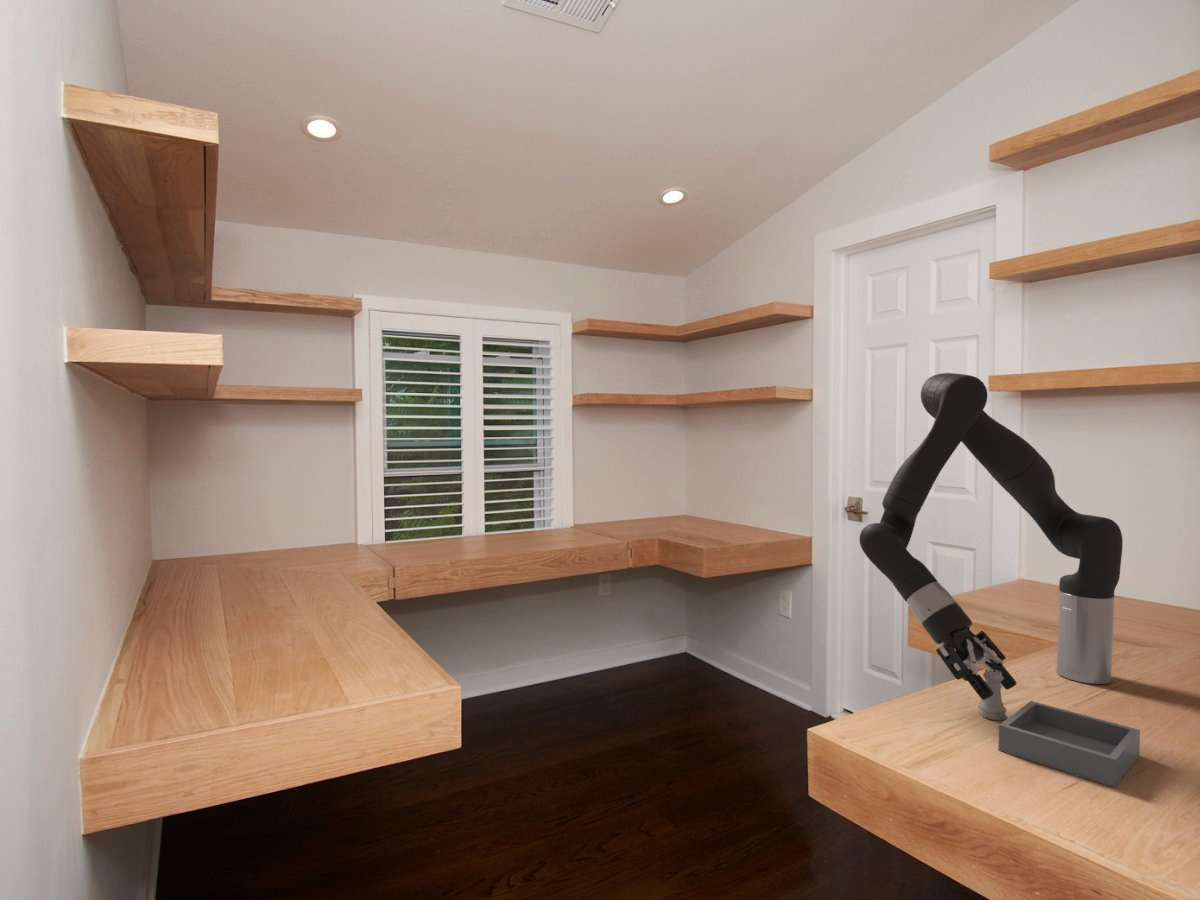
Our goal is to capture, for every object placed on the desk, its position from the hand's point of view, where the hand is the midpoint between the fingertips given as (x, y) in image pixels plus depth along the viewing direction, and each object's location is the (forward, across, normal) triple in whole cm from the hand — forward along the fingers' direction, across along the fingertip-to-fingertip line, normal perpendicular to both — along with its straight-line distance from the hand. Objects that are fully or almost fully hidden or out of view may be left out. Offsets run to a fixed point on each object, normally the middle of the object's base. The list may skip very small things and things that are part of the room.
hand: (1000, 692), depth 120 cm
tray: (+12, -5, -5) cm, 14 cm away
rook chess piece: (+3, 0, +4) cm, 5 cm away
